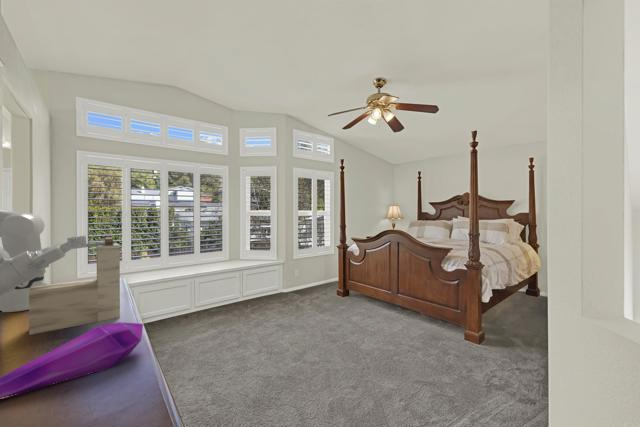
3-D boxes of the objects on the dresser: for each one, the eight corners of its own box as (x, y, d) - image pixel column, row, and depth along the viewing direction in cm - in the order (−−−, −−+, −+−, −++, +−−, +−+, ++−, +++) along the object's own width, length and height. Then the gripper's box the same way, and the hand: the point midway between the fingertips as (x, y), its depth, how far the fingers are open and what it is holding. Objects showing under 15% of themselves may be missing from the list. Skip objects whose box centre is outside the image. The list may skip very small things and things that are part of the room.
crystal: (-9, 385, 56) (156, 319, 79) (-12, 361, 65) (136, 308, 88) (1, 425, 57) (161, 348, 80) (-4, 395, 66) (141, 334, 89)
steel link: (68, 249, 100) (67, 237, 99) (68, 248, 103) (67, 237, 102) (114, 244, 108) (113, 233, 108) (113, 243, 111) (112, 232, 111)
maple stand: (31, 327, 98) (31, 241, 98) (117, 311, 114) (117, 237, 114) (29, 335, 92) (28, 242, 92) (120, 317, 108) (119, 238, 107)
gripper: (18, 260, 86) (71, 235, 94) (27, 253, 102) (72, 232, 109) (33, 277, 88) (84, 251, 96) (40, 267, 104) (83, 246, 112)
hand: (77, 241), depth 103 cm, fingers open, 8 cm apart
